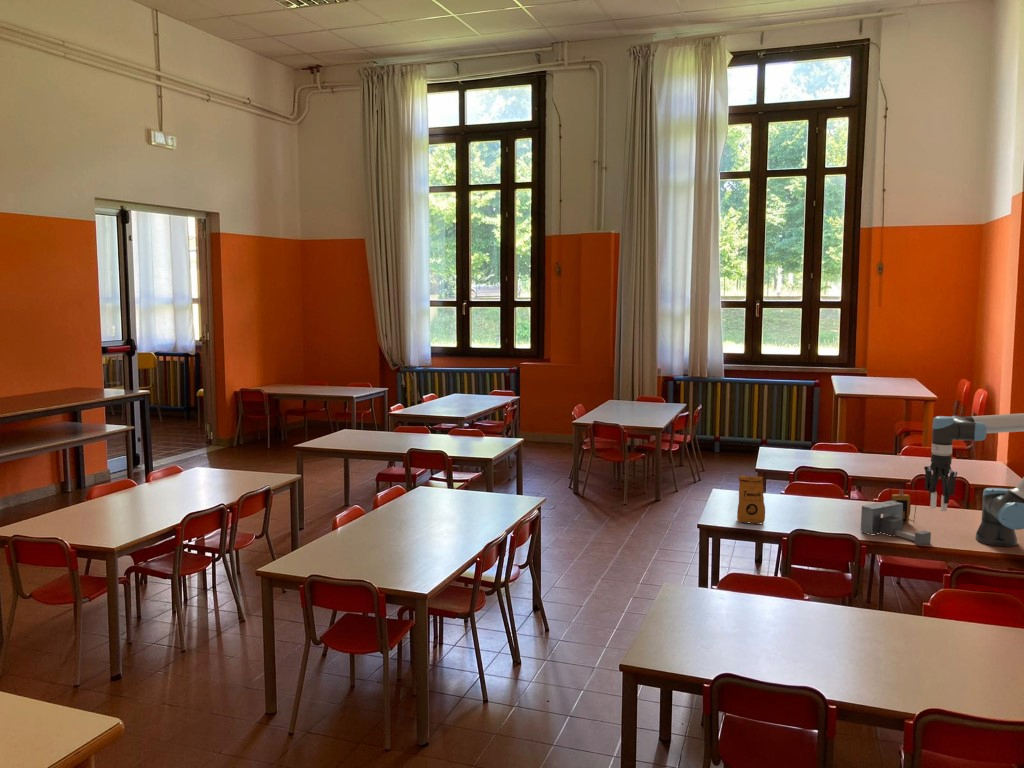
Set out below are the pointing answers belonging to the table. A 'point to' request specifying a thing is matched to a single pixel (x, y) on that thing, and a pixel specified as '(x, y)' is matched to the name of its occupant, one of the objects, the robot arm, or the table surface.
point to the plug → (895, 527)
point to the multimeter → (905, 500)
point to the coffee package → (751, 500)
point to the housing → (878, 515)
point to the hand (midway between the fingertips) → (938, 509)
